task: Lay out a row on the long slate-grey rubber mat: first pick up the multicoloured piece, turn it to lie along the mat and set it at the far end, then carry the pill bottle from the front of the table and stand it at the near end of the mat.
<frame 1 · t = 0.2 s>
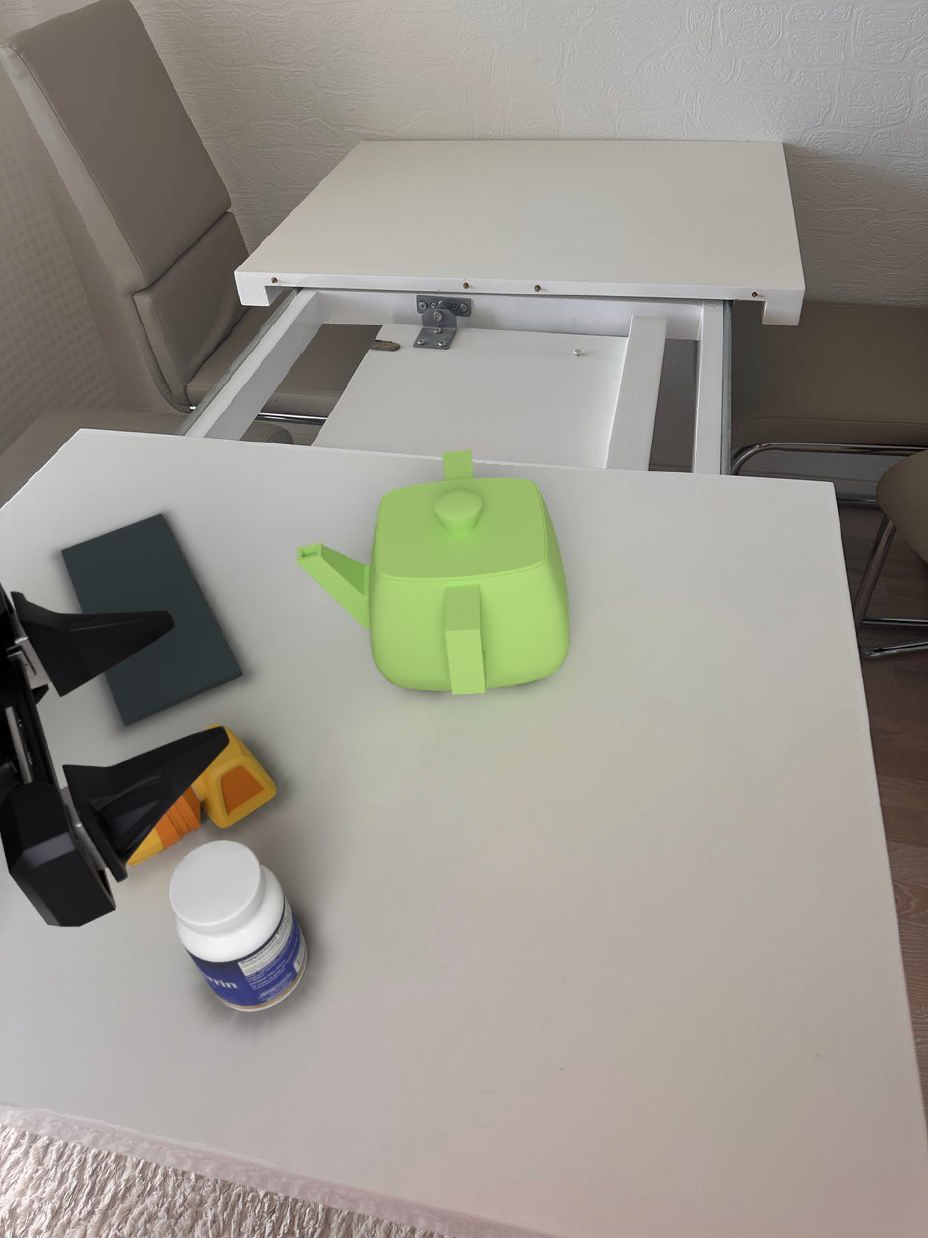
hand: (198, 672, 48), 17 cm above the table, tool horizontal, fingers open, 9 cm apart
multicoloured piece: (185, 821, 62), on the table
teapot: (445, 641, 72), on the table
pill bottle: (261, 967, 55), on the table
mat: (146, 610, 77), on the table
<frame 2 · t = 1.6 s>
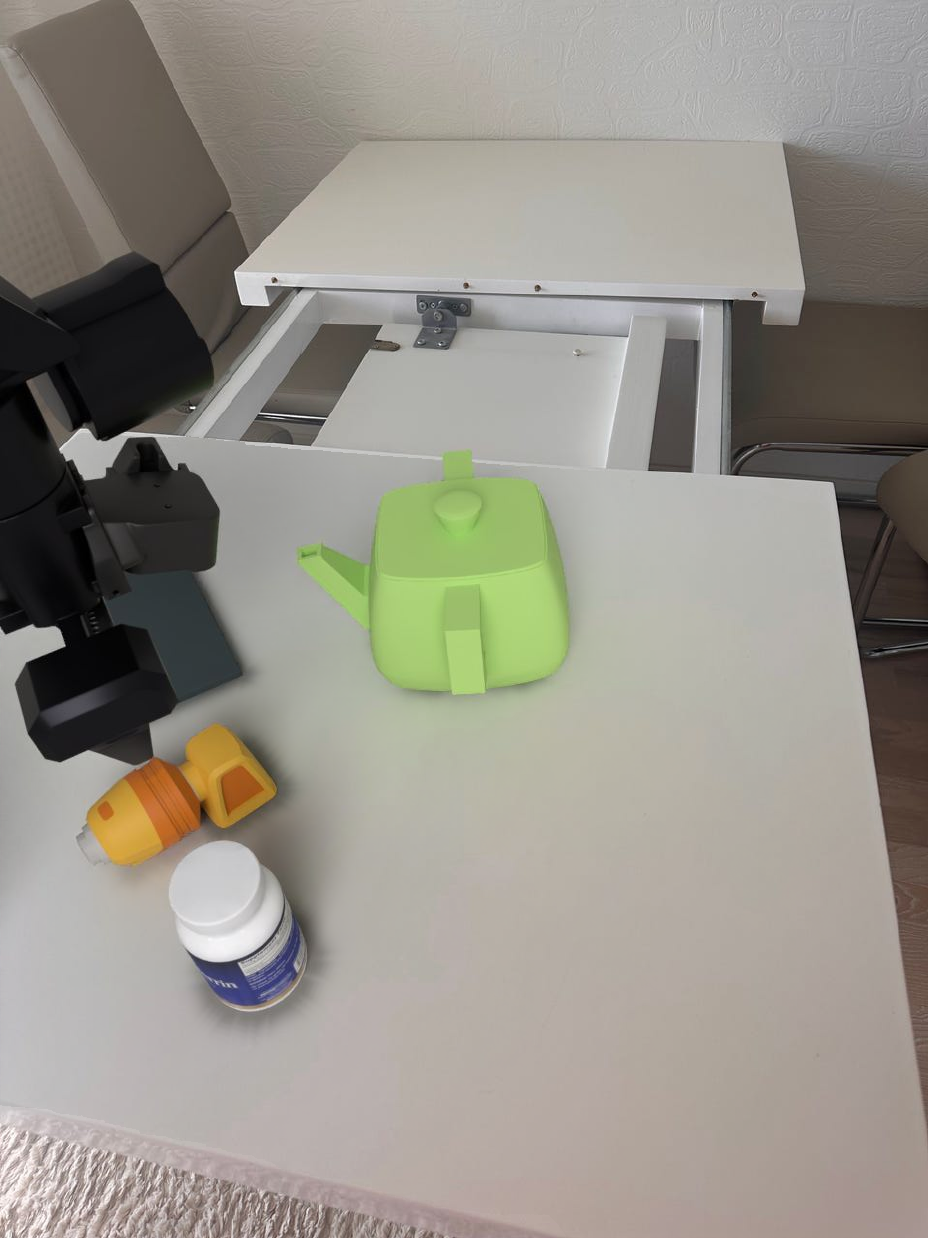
hand: (122, 702, 54), 12 cm above the table, tool pointing down, fingers open, 9 cm apart
nothing on the table moved.
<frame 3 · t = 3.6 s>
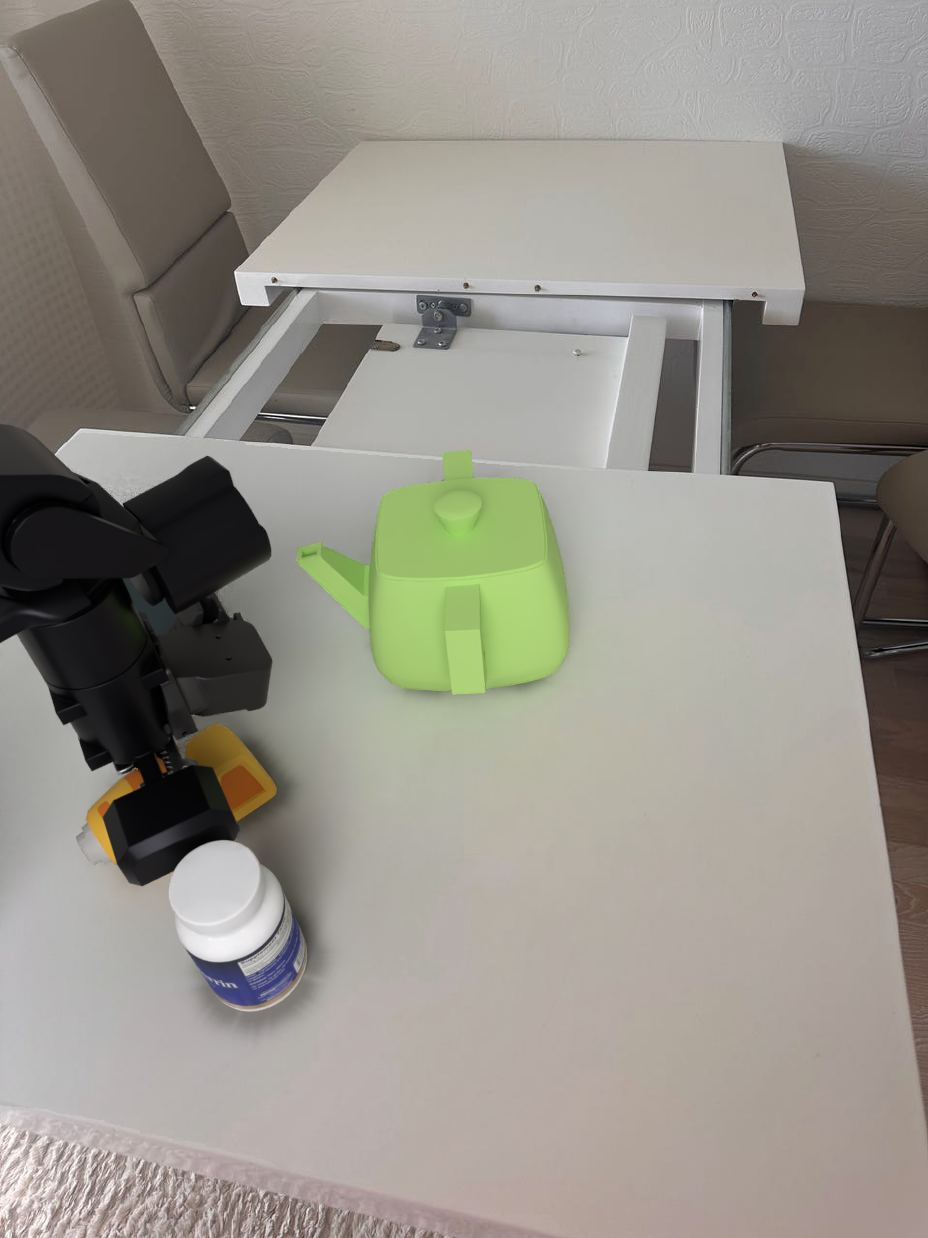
hand: (180, 812, 61), 1 cm above the table, tool pointing down, fingers closed on multicoloured piece, 5 cm apart
multicoloured piece: (185, 821, 62), on the table, touching gripper
everything else where it was.
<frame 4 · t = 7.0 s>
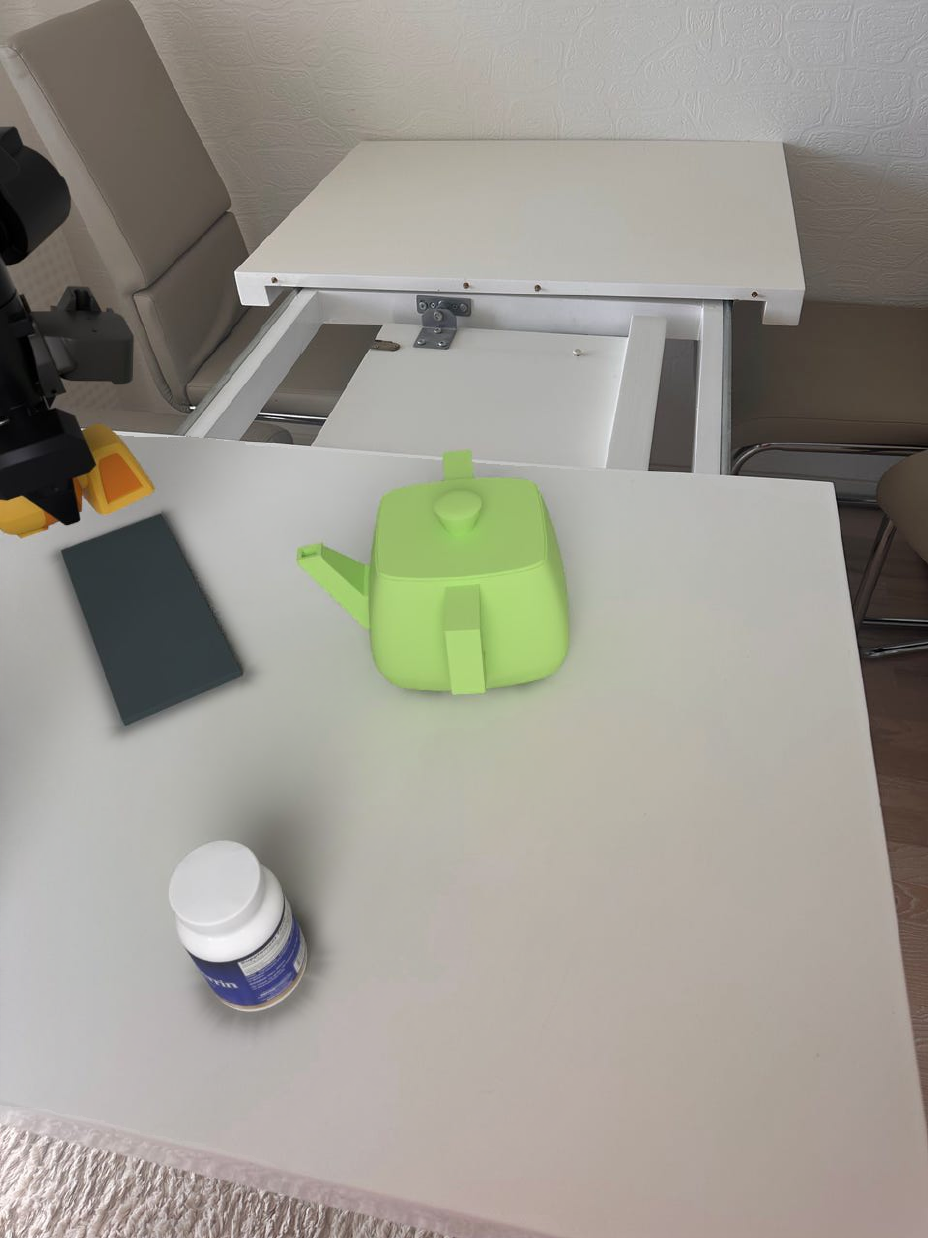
hand: (65, 500, 69), 11 cm above the table, tool pointing down, fingers closed on multicoloured piece, 5 cm apart
multicoloured piece: (72, 512, 70), point 10 cm above the table, touching gripper
everything else where it was.
when the fingers open (2 cm above the table, at t = 10.8 s): multicoloured piece stays where it is, resting on mat.
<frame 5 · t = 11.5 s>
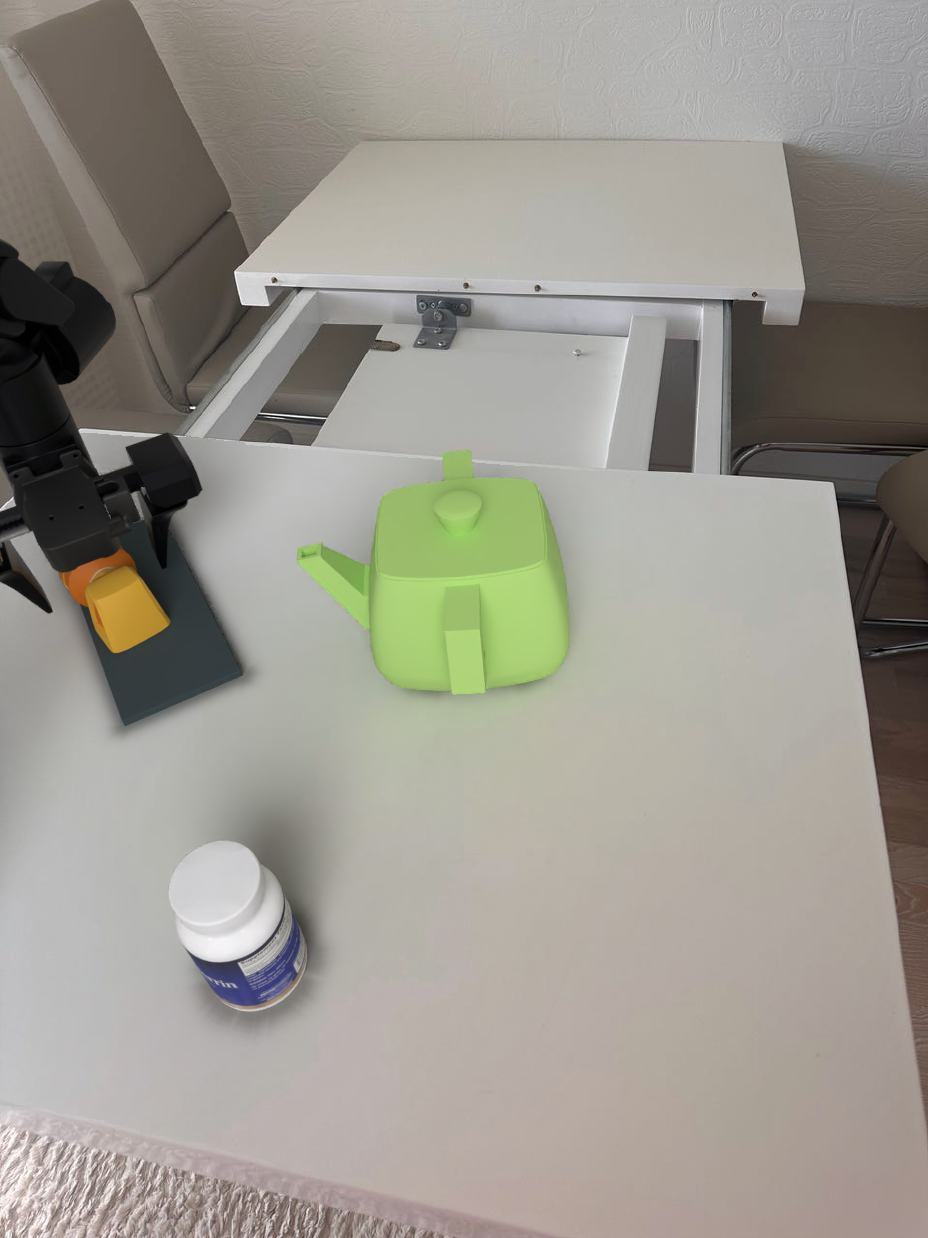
hand: (107, 587, 76), 2 cm above the table, tool pointing down, fingers open, 9 cm apart
multicoloured piece: (114, 602, 77), resting on mat
everything else where it was.
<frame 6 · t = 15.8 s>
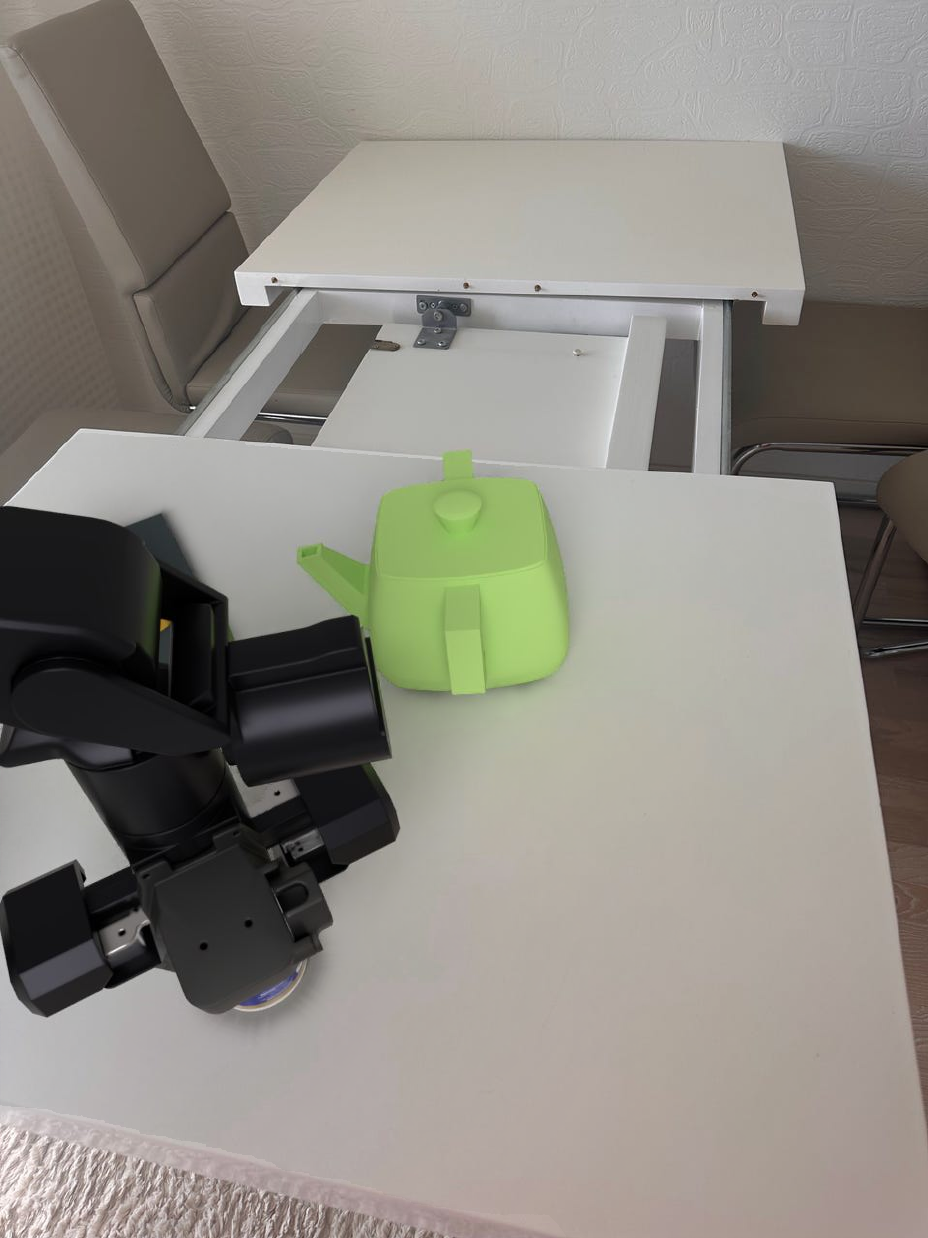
hand: (247, 941, 53), 3 cm above the table, tool pointing down, fingers closed on pill bottle, 6 cm apart
pill bottle: (261, 967, 55), on the table, touching gripper
everything else where it was.
when the fingers open (4 cm above the table, at t = 21.8 s): pill bottle stays where it is, resting on mat.
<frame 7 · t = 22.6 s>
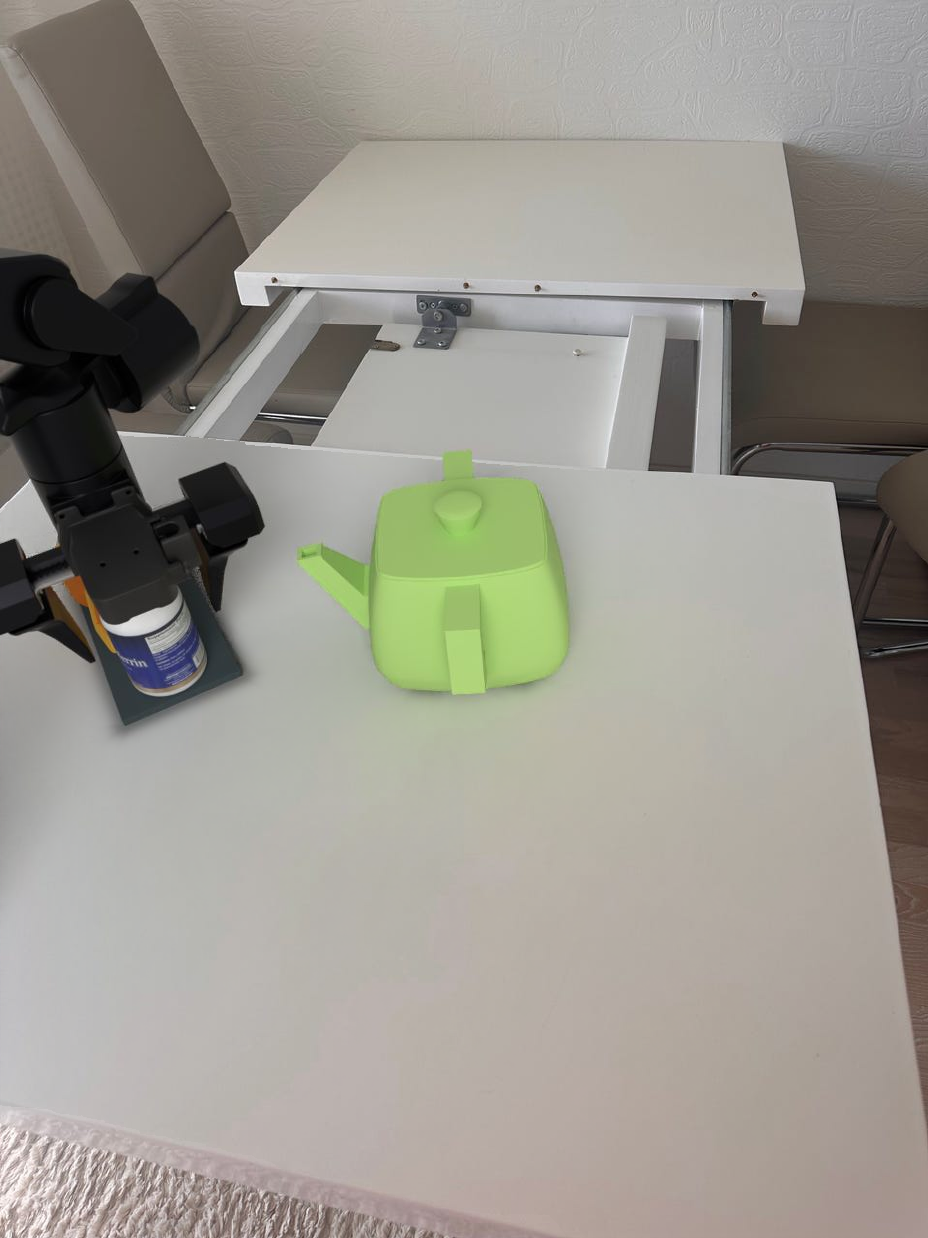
hand: (155, 633, 68), 4 cm above the table, tool pointing down, fingers open, 9 cm apart
pill bottle: (171, 672, 71), resting on mat
everything else where it was.
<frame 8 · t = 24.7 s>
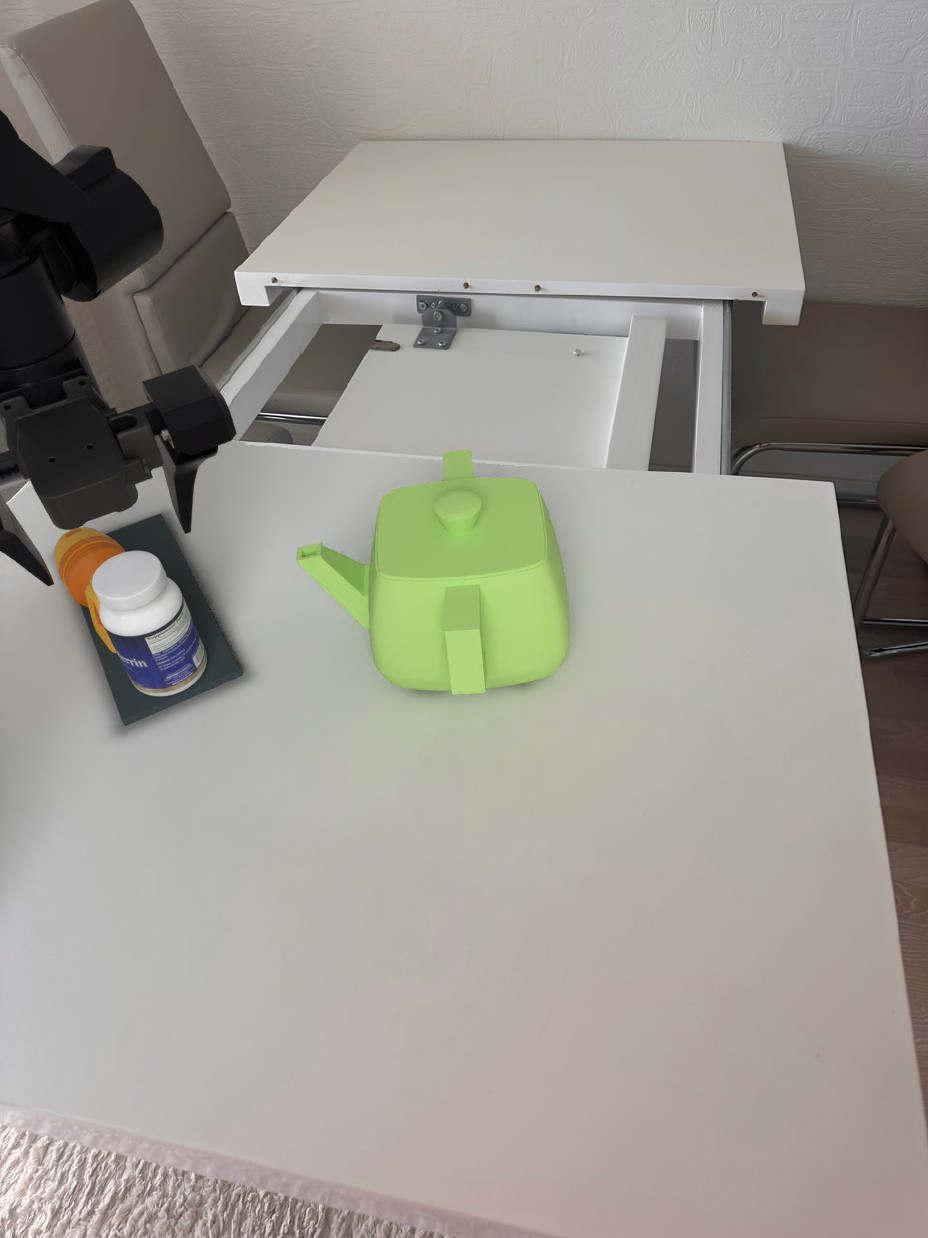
hand: (119, 555, 63), 12 cm above the table, tool pointing down, fingers open, 9 cm apart
nothing on the table moved.
at the end: multicoloured piece inside the target area on the mat (1.5 cm from its centre), point 0.4 cm above the mat's base; pill bottle 0.6 cm from the target spot on the mat, point 0.4 cm above the mat's base; pill bottle tilted 0° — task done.
